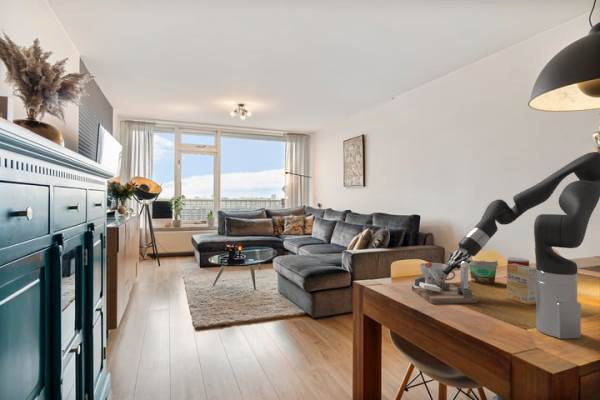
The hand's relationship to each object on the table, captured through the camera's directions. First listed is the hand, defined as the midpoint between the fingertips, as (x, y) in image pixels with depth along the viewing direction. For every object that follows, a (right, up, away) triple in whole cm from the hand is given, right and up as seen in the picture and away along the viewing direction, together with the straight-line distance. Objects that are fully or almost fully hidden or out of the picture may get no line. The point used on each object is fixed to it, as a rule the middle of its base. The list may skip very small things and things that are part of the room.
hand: (444, 273), depth 133 cm
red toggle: (-1, -5, 0) cm, 5 cm away
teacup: (+4, -8, +16) cm, 18 cm away
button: (-8, -6, +4) cm, 11 cm away
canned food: (+39, -8, +14) cm, 42 cm away
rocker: (-8, -5, -5) cm, 10 cm away
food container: (+25, -8, +16) cm, 30 cm away
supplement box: (+24, -8, -10) cm, 27 cm away
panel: (-2, -8, -3) cm, 9 cm away
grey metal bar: (+3, -5, -10) cm, 11 cm away
